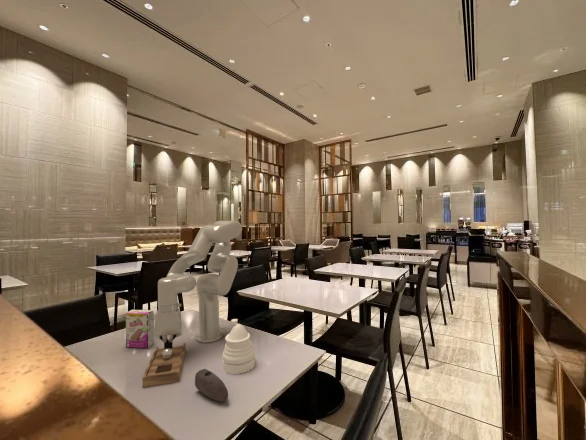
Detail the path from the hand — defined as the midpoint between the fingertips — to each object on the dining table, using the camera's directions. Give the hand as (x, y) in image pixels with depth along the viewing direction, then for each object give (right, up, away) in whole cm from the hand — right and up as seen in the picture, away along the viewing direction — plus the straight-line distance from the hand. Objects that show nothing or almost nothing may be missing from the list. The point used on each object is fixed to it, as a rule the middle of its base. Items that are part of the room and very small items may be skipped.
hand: (168, 350), depth 117 cm
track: (+2, -4, -6) cm, 7 cm away
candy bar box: (-19, -4, +12) cm, 23 cm away
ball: (+1, +1, -4) cm, 4 cm away
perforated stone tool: (+26, -4, -24) cm, 35 cm away
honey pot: (+31, -4, -5) cm, 31 cm away
